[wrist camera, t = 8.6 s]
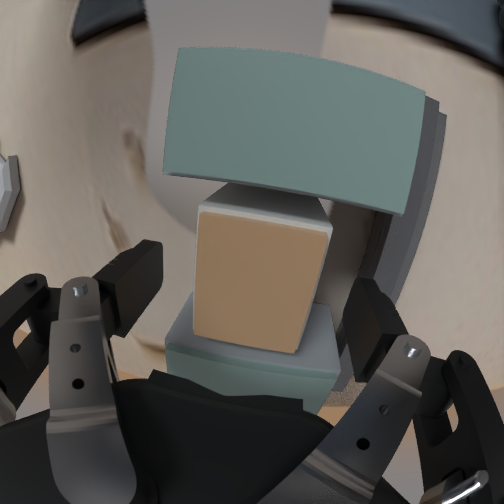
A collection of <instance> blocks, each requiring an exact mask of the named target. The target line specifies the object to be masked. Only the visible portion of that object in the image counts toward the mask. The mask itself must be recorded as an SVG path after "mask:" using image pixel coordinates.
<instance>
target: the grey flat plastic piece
mask: <svg viewBox="0 0 504 504" xmlns="http://www.w3.org/2000/svg"><path fill="white" fill-rule="evenodd" d="M19 190H20V183H19V175H18V164H17V155H14V156H8V158H7V160H6V162H5V161H4V160H3V158H2V157H1V156H0V232H3V231H5V230H6V227H7V224H8V221H9V218H10V215H11V212H12V209H13V206H14V203H15V201H16V198H17V195H18V193H19Z"/></svg>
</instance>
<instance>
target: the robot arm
mask: <svg viewBox="0 0 504 504" xmlns="http://www.w3.org/2000/svg"><path fill="white" fill-rule="evenodd" d="M162 282H163V246H162V243H161V242H157V241H151V240H146V239H144V240H142V241H141V242H140V243H139V244H137V245H136V246H135V247H134V248H133V249H132V248H131V249H129V250H126V251H124V252H121V253H120V254H119V255H118V256H116V257H115V258H114V259H113V260H112V261H110V262H109V264H107V265H106V266H104V267H103V268H102V269H101V270H100V271H99V272H97V273H96V274H95V275H94V276H93V277H92V278H91V277H76V278H73V279H71V280H69V281H67V282H66V283H65V284H64V285H63V287H62V288H50V287H48V284H47V280H46V277H45V276H44V275H42V274H38V273H35V274H29V275H26V276H24V277H22V278H21V279H20V280H18V281H17V282H16V283H15V284H14V285H12V286H11V287H10V288H9V289H8V290H6V291H5V292H4V293H3V294H2V295H1V296H0V504H410V503H409V502H408V501H407V500H406V499H404V498H403V497H402V496H401V495H400V494H399V493H398V492H397V491H396V490H395V489H394V488H393V487H392V486H391V485H390V484H389V483H388V482H387V481H386V480H385V479H384V478H383V477H382V475H383V473H384V471H385V470H386V468H387V466H388V465H389V463H390V461H391V459H392V458H393V456H394V454H395V452H396V450H397V448H398V446H399V445H400V443H401V441H402V439H403V436H404V435H405V433H406V431H407V428H408V426H409V424H410V422H411V420H412V419H413V424H414V429H415V434H416V439H417V445H418V451H419V457H420V463H421V470H422V478H423V487H424V494H423V496H422V498H421V500H420V503H419V504H504V424H503V421H502V419H501V416H500V413H499V411H498V409H497V406H496V404H495V402H494V399H493V397H492V394H491V392H490V390H489V388H488V385H487V383H486V381H485V379H484V377H483V375H482V373H481V371H480V369H479V367H478V365H477V363H476V361H475V360H474V359H473V358H472V357H471V356H470V355H469V354H467V353H466V352H463V351H460V350H455V351H452V352H451V353H450V355H449V356H448V358H447V359H446V360H443V359H440V358H436V357H433V356H431V353H430V350H429V348H428V346H427V345H426V344H425V343H424V342H423V341H422V340H421V339H419V338H417V337H415V336H412V335H409V334H408V332H407V329H406V327H405V325H404V323H403V321H402V319H401V317H400V316H399V313H398V311H397V310H396V308H395V306H394V304H393V302H392V300H391V299H390V298H389V297H388V296H387V295H386V294H385V293H382V292H381V291H380V289H379V287H378V285H377V283H376V281H375V280H374V279H368V278H362V277H357V278H356V279H355V280H354V283H353V286H352V289H351V291H350V294H349V297H348V300H347V303H346V305H345V308H344V312H343V326H344V330H345V335H346V339H347V344H348V348H349V353H350V357H351V362H352V367H353V372H354V377H355V382H365V383H367V385H366V386H365V388H364V389H363V390H362V392H361V393H360V395H359V396H358V397H357V399H356V400H355V401H354V403H353V404H352V405H351V407H350V408H349V409H348V411H347V412H346V413H345V414H344V416H343V417H342V418H341V419H340V421H339V422H338V423H337V424H336V425H335V427H334V426H333V425H331V424H330V423H329V422H327V421H326V420H324V419H322V418H321V417H319V416H317V415H315V414H313V413H310V412H308V411H305V410H303V399H297V398H288V397H280V396H272V395H245V396H225V395H222V394H219V393H217V392H214V391H212V390H210V389H208V388H206V387H204V386H201V385H199V384H197V383H195V382H193V381H191V380H189V379H186V378H182V377H178V376H175V375H171V374H168V373H164V372H161V371H157V370H154V369H153V371H152V372H151V374H150V376H149V378H148V379H127V380H122V381H119V377H118V373H117V368H116V364H115V359H114V354H113V349H112V344H111V340H110V338H111V337H112V335H113V334H114V335H117V336H120V337H123V338H125V336H126V335H127V334H128V332H129V331H130V329H131V328H132V327H133V325H134V324H135V322H136V321H137V320H138V318H139V317H140V316H141V314H142V313H143V311H144V310H145V309H146V307H147V306H148V305H149V303H150V302H151V301H152V299H153V298H154V297H155V295H156V294H157V293H158V291H159V290H160V288H161V286H162ZM25 320H27V322H28V325H29V327H30V330H31V332H30V333H29V334H28V336H27V337H26V338H25V339H24V340H23V341H22V343H21V344H20V345H19V346H18V347H17V349H16V348H15V346H14V344H13V335H14V333H15V331H16V330H17V329H18V328H19V327H20V326H21V324H22V323H23V322H24V321H25ZM48 364H49V403H50V409H47V410H45V411H42V412H39V413H36V414H33V415H31V416H28V417H25V418H22V419H19V420H16V421H15V418H16V411H17V410H18V408H19V407H20V405H21V403H22V402H23V400H24V399H25V397H26V395H27V394H28V393H29V391H30V390H31V388H32V387H33V385H34V384H35V382H36V381H37V379H38V378H39V376H40V375H41V373H42V372H43V371H44V369H45V368H46V366H47V365H48ZM453 403H454V406H455V409H456V412H457V414H458V419H459V420H458V426H457V428H456V430H455V431H454V432H452V428H451V424H450V421H449V418H448V414H447V410H448V409H449V408H450V406H451V405H452V404H453Z"/></svg>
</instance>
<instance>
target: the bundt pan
mask: <svg viewBox="0 0 504 504" xmlns="http://www.w3.org/2000/svg"><path fill="white" fill-rule="evenodd" d="M497 1H498V3H499V5H500V7H501V10H500V12H499V24H500V26H501V28H502V30H503V32H504V0H497Z"/></svg>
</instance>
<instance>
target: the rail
mask: <svg viewBox="0 0 504 504" xmlns="http://www.w3.org/2000/svg"><path fill="white" fill-rule="evenodd" d="M446 118H447V115H445V114H443V113H441V112H439V101H436V100H434V99H432V98H430V97H428V96H425V104H424V113H423V121H422V128H421V135H420V141H419V147H418V153H417V158H416V164H415V169H414V173H413V178H412V182H411V187H410V191H409V195H408V199H407V203H406V207H405V211H404V214H402V217H400V216H396V215H392V214H388V213H384V212H380V211H377V212H376V216H375V220H374V223H373V227H372V231H371V234H370V238H369V241H368V245H367V248H366V251H365V255H364V258H363V261H362V264H361V267H360V270H359V273H358V276H357V277H362V278H368V279H374V280H375V281H376V283H377V285H378V287H379V289H380V291H381V292H382V293H385V294H386V295H387V296H388V297H389V298H390V299H391V300H392V302H393V304H394V306H395V304H396V302H397V299H398V297H399V295H400V292H401V290H402V287H403V285H404V283H405V280H406V277H407V275H408V272H409V270H410V267H411V264H412V262H413V259H414V256H415V253H416V250H417V247H418V244H419V241H420V238H421V235H422V232H423V228H424V225H425V222H426V218H427V215H428V211H429V208H430V204H431V200H432V196H433V192H434V188H435V183H436V179H437V174H438V169H439V164H440V159H441V153H442V147H443V141H444V134H445V127H446ZM335 338H336V343H337V349H338V355H339V361H340V367H341V372H340V374H339V375H338V377H337V381H336V383H335V385H334V387H333V388H332V390H331V391H341V392H342V391H343V390H344V388H345V386H346V385H347V383H348V381H349V379H350V378H351V376H352V375H354V372H353V367H352V362H351V357H350V353H349V348H348V344H347V339H346V335H345V330H344V326H343V318H342V320H341V323H340V326H339V328H338V331H337V333H336V335H335Z"/></svg>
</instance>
